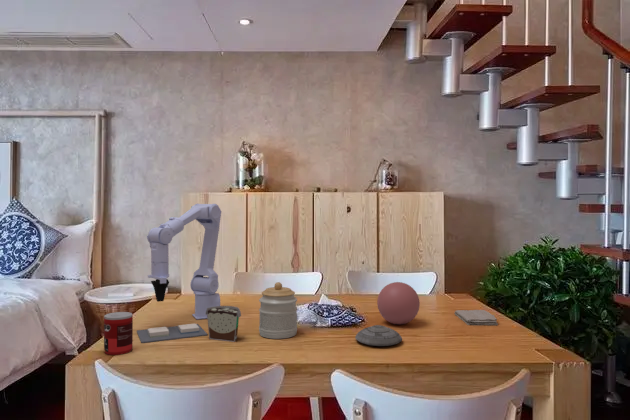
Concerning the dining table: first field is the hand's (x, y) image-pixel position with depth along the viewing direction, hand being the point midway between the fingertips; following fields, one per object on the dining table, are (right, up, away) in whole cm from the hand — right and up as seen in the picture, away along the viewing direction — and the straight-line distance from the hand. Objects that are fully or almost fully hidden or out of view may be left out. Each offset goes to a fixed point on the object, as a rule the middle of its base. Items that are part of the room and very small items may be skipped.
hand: (160, 301), depth 164 cm
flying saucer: (+74, -11, -12) cm, 76 cm away
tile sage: (0, -9, -4) cm, 10 cm away
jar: (+41, -11, -4) cm, 43 cm away
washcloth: (+116, -11, +17) cm, 117 cm away
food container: (+25, -11, -8) cm, 28 cm away
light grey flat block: (+9, -9, +1) cm, 13 cm away
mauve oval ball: (+84, -11, +13) cm, 86 cm away
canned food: (-5, -11, -23) cm, 26 cm away
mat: (+5, -10, -4) cm, 12 cm away
